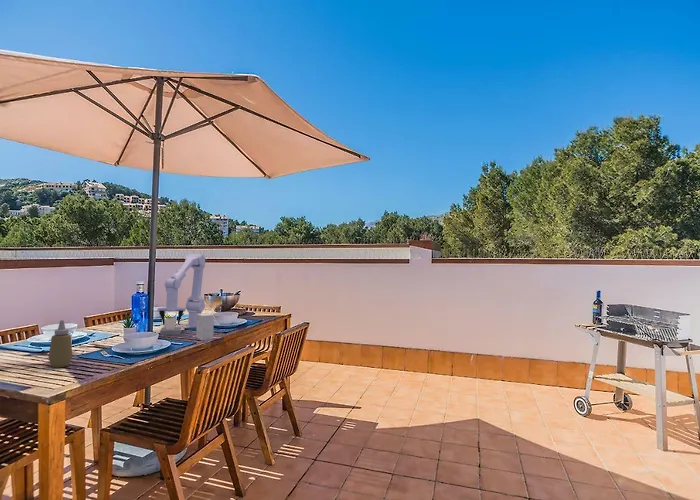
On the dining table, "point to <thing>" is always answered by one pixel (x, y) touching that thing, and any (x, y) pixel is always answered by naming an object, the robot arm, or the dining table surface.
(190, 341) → the dining table surface
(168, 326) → the cream block
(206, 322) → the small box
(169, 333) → the slate base
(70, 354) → the squeeze bottle
